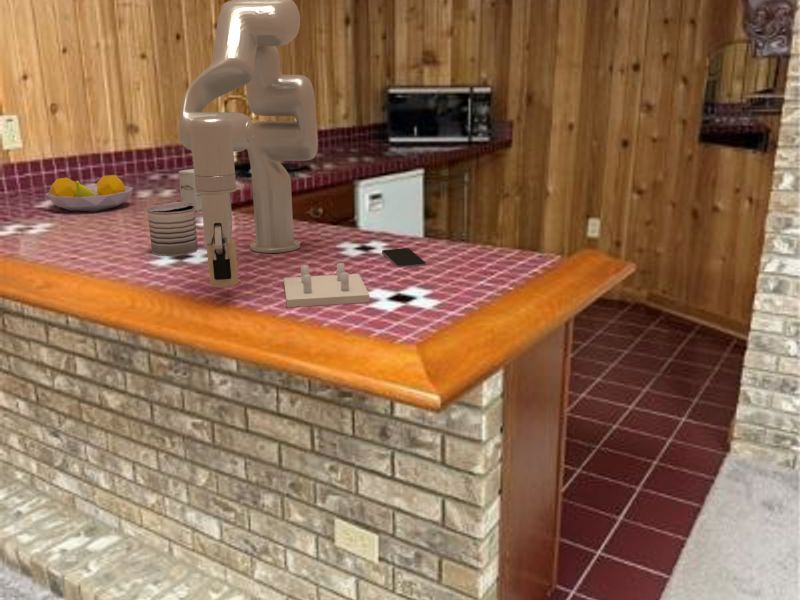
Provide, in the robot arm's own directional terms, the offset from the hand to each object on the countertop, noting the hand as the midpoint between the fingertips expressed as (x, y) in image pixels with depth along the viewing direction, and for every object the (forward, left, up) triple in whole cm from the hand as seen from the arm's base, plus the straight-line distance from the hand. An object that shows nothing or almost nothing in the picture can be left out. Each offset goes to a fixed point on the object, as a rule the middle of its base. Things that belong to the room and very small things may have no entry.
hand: (223, 273), depth 147 cm
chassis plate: (+1, +20, -5) cm, 20 cm away
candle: (0, 0, -2) cm, 2 cm away
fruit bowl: (-113, -48, -5) cm, 123 cm away
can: (-44, -14, -5) cm, 47 cm away
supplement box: (-105, -13, -5) cm, 106 cm away
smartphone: (-24, +41, -6) cm, 48 cm away
